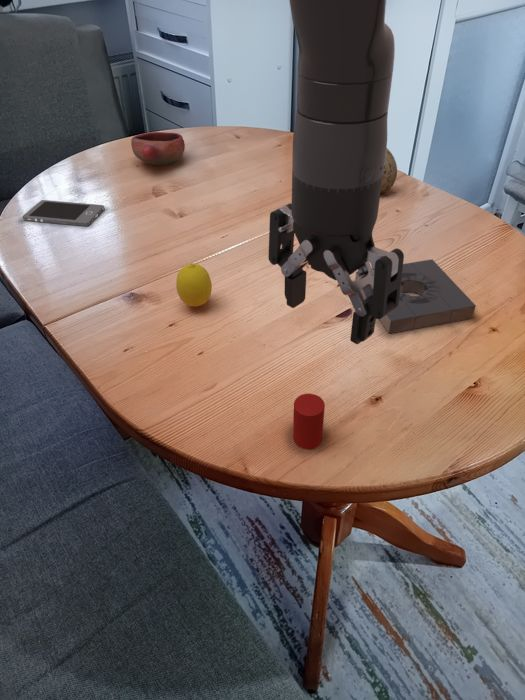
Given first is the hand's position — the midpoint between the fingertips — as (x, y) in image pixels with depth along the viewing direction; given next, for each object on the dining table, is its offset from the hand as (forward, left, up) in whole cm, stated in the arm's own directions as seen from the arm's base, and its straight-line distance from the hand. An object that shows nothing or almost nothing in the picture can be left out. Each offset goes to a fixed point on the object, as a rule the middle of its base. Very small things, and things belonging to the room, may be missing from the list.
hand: (326, 320), depth 55 cm
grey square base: (-24, -23, -18) cm, 37 cm away
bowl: (+9, -91, -18) cm, 93 cm away
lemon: (+10, -31, -18) cm, 37 cm away
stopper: (+1, 0, -18) cm, 18 cm away
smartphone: (+32, -71, -18) cm, 80 cm away
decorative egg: (-35, -62, -18) cm, 73 cm away
